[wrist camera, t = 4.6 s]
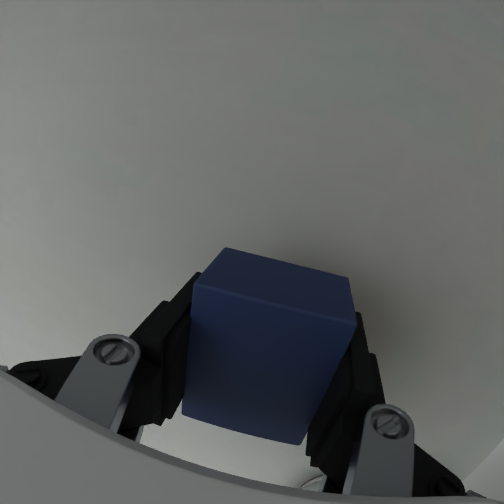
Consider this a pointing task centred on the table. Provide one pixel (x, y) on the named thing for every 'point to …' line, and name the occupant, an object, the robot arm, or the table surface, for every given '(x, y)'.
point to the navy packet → (264, 344)
